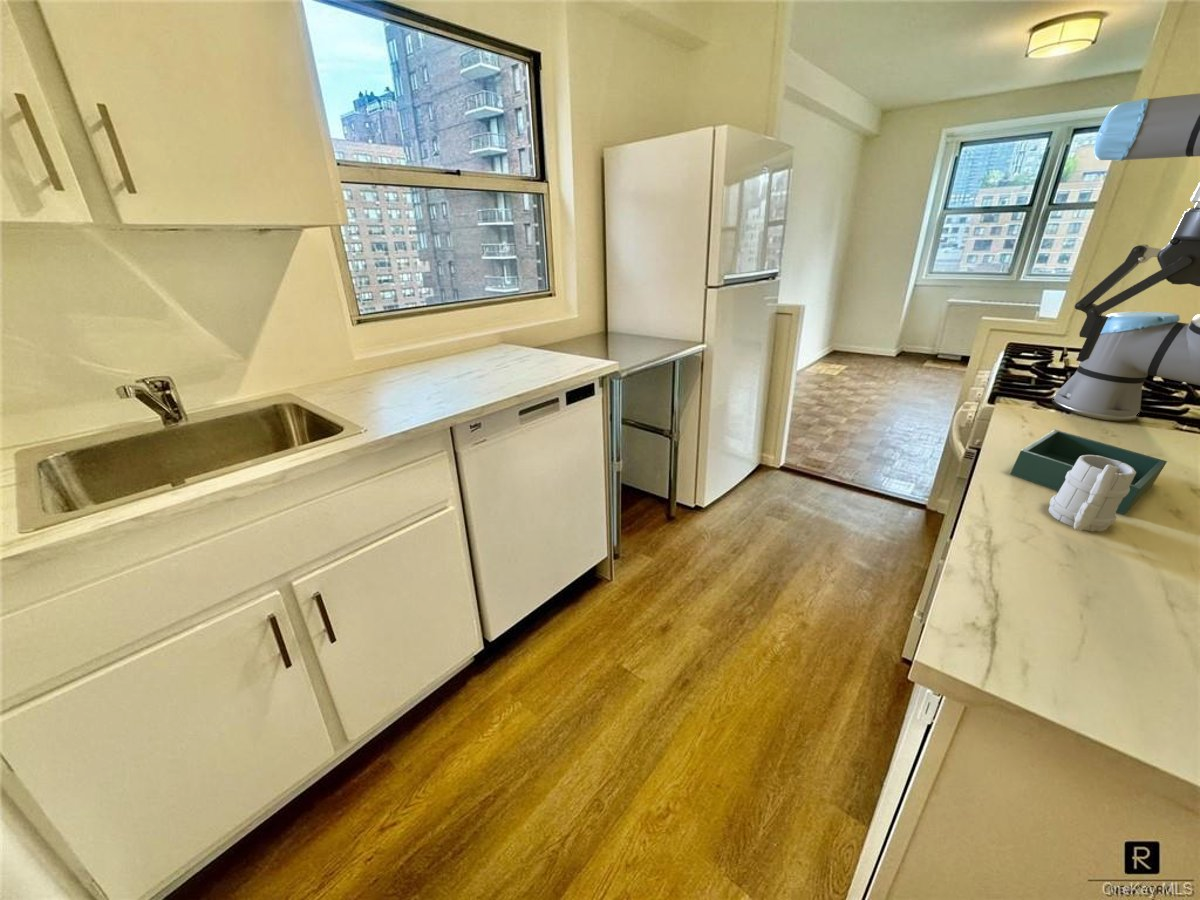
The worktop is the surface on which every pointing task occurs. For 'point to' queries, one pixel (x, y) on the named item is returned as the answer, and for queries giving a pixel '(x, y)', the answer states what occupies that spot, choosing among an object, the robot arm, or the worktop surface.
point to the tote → (1062, 451)
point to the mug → (1092, 493)
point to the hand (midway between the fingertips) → (1143, 371)
